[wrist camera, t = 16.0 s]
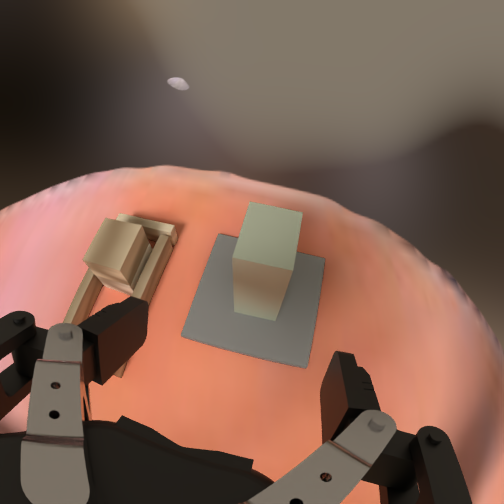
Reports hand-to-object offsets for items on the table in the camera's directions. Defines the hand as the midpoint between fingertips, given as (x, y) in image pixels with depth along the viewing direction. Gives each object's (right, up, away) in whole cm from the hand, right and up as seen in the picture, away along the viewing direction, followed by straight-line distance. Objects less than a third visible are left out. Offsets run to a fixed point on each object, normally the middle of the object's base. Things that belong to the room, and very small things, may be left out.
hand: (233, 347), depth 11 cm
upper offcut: (-12, +3, +16) cm, 20 cm away
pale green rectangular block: (+2, 0, +17) cm, 17 cm away
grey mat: (+1, -1, +17) cm, 18 cm away
